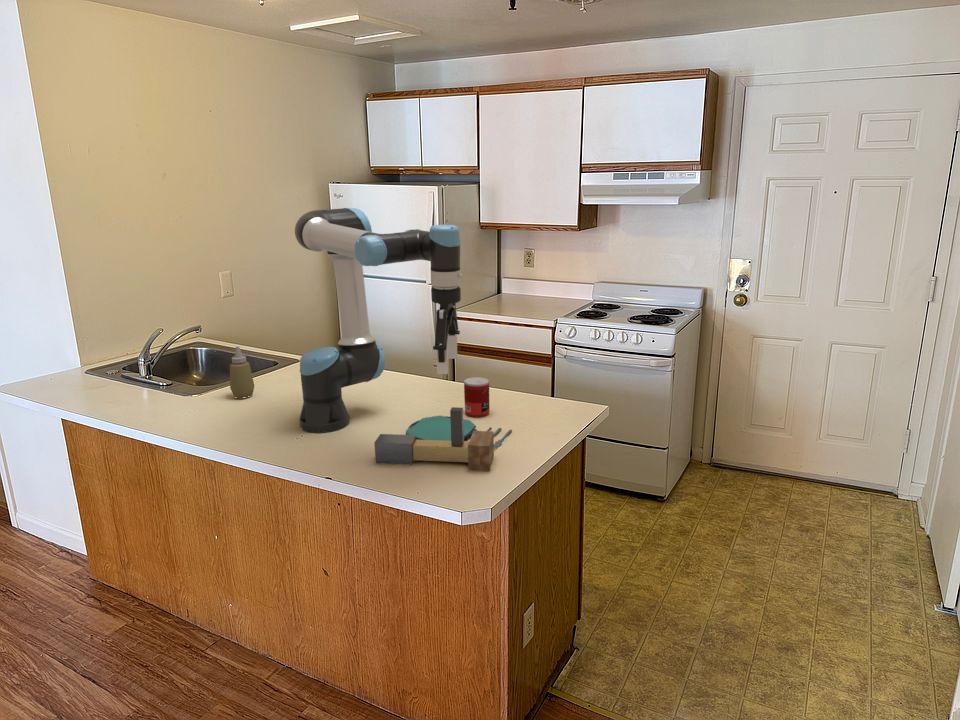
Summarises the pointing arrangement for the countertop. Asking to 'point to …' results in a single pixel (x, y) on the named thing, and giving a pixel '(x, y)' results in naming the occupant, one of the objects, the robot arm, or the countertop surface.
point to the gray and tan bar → (444, 443)
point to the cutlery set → (443, 429)
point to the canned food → (476, 396)
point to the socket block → (481, 450)
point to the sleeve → (394, 449)
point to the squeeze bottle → (241, 376)
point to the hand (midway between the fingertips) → (447, 365)
